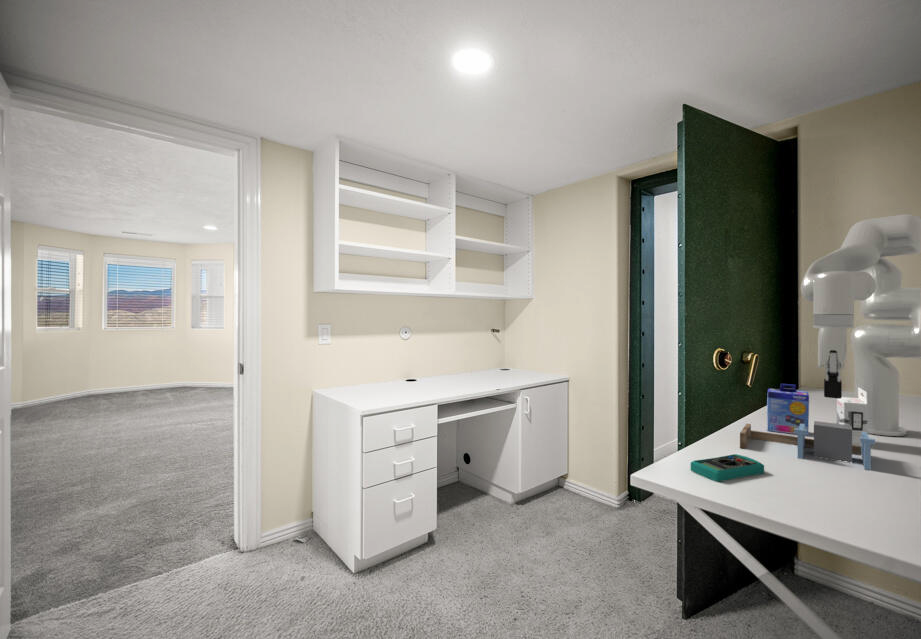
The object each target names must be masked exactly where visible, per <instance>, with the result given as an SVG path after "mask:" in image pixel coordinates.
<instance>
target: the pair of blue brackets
mask: <svg viewBox="0 0 921 639" xmlns="http://www.w3.org/2000/svg"><path fill="white" fill-rule="evenodd" d="M794 433H796V434H798V435H797V437H798V445H797V459H804V455H805V454H804V453H805V449H806V447H805V438H806V436H805V435H807V430H805V424H800V426H799V429H797V428H794ZM796 434H795V435H796ZM860 443H862V444H861V455H862V456H861V455H860V456H861V458H862V460H861V461H862V464H864V465H863V469H864V470H866V471H871V468H872V467H871V465H872V464H871V462H872V461H871V458H872V457H871V454H872V449H871V447H872V446H871V445H876V439H875V438H871V437H869V433H867V432H863V431H862V437H860Z"/></svg>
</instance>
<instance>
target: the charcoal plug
mask: <svg viewBox="0 0 921 639" xmlns="http://www.w3.org/2000/svg"><path fill="white" fill-rule="evenodd" d="M813 439H814V448H813V457H814V456H815V458H819V457H822V459H825V458H828V459H827V460H831V459H833V460H834V461H837V460H841V461H840V462H843V461H847V462H846V463H850V462H852V463H853V454H852V426H851V425H843V424H837V423H835V422H827V421H826V422H824V421H816V420H814V421H813ZM833 460H832V461H833Z"/></svg>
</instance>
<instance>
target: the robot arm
mask: <svg viewBox="0 0 921 639" xmlns="http://www.w3.org/2000/svg"><path fill="white" fill-rule="evenodd" d="M920 254H921V218H920V217H919V216H917V215H913V214H906V213H905V214H898V215H897V214H896V215H889V216H881V217H875V218H868V219H864V220H861V221H858V222H856V223H855V224H853V225H852V226H851V227H850V228H849V231H848V232H847V234H846V236H845V238H844V241H843V242H842V244H841V246H840V248H838V249H836V250H834V251H831V252H829V253H828V254H826V255H825V256H822V257H820V258H818V259H817V260H815V261H814V262H812V263H811V264H810V266H808V268H807V270H806V272H805V274H804V276H803V277H802V281H801V283H800V293H801V295H802V297H803V298H804V299H805V300H807V301H809V302H813V304H812V305H813V306H812V307H813V308H812V309H813V310H812V311H813V313H812V314H813V316H812V317H813V318H812V319H813V323H812V324H813V325H812V327H813V329H814V328H815V329H818V332H817V333H818V334H817V368H819V369H822V367H825V369H824V370H825V378H824V380H823V396H824V398H829V399H837V398H838V399H840V398H842V397H843V393H842V392H843V389H842V388H843V386H842V384H843V383H842V379H841V370H843V369H845V364H846V358H847V348H848V347H847V346H848V343H847V342H848V329H853V330H852V331H851V334H850V343H851V347H852V352H853V359H854V360H853V361H854V362H853V363H854V398H858V387H859V388H861V389H862V390H864V391H866V392H867V433H868V434H871V435H877V436H888V437H889V436H890V437H902V436H906V435H907V432H908V431H907V429H905V428H903V427H900V372H899V370H898V368H897V367H896V366H895V364H893V362H891V361H890V360H889V359H888V358H897V359H898V358H899V359H916V360H917V359H918V360H921V287H920V286H918V287H902V277H903V276H902V275H903V274H902V270H901V269H900V268H899V267H898V266H897V265H896V264H895V263H893V262H892V261H890V260H889V259H887V258H886V257H896V256H911V255H920ZM855 302H860V305H859V306H860V314H861V316H862V317H863V318H864V319H867V320H870V321H898V322H899V321H908V322H912V323H913V324H893V323H890V324H889V323H869V324H867V323H866V324H862V325H858V326H856V327H855V323H854V320H855ZM861 395H862V396H863V397H864V395H863V393H861Z"/></svg>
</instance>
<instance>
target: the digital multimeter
mask: <svg viewBox="0 0 921 639" xmlns="http://www.w3.org/2000/svg"><path fill="white" fill-rule="evenodd" d="M690 471H691V472H693V473H695V474H697V475H699V476H701V477H703V478H706V479H709V480H712V481H714V482H717V483H719V482H725V481H730V480H734V479H739V478H743V477H751V476H757V475H763V474H765V465H764V464H762V462H761V461H758V460H756V459H753V458H751V457H749V456H746V455H745V456H744V455H742V454H729V455H728V454H727V455H724V456H718V457H711V458H703V459H696V460H693V461H691V462H690Z"/></svg>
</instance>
